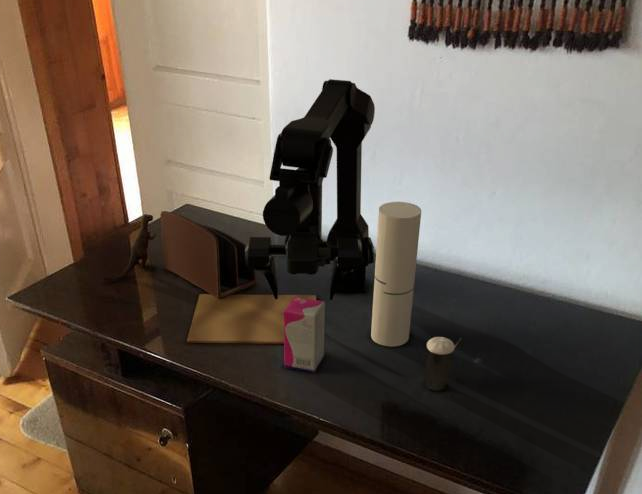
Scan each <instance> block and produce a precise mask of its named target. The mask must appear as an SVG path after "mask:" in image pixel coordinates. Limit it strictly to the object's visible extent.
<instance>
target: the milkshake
mask: <svg viewBox="0 0 642 494" xmlns="http://www.w3.org/2000/svg"><path fill="white" fill-rule="evenodd" d="M461 340H462V337H460V338H459V339H458V340H457V342H456V344H455V343H454V342H453V341H452V340H451V339H449V338H447V337H445V336H434V337H432V338H430V339H429V340H427V342H426V362H425V363H426V365H425V385H426V388H427V389H429V390H430V391H436V392H439V391H442V390H444V389H445V387H446V386H447V380H448V376H449V371H450V368H451V363H452V359H453V355H454V352H455V348H456V347H457V345H458V344H459V342H460V341H461Z"/></svg>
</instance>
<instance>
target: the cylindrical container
mask: <svg viewBox="0 0 642 494" xmlns="http://www.w3.org/2000/svg"><path fill="white" fill-rule="evenodd" d="M377 218H378V219H377V233H376V248H375V249H376V250H375V266H374V280H373V297H372V311H371V312H372V313H371V314H372V315H371V328H370V329H371V330H370V337H371V340H372V341H373V342H374V343H376V344H378V345H381V346H384V347H391V348H392V347H400V346H402V345H404V344H406V343H408V341H409V339H410V330H411V321H412V320H411V319H412V310H413V309H412V308H413V299H414V298H413V297H414V288H415V280H416V271H417V259H418V248H419V239H420V230H421V229H420V228H421V219H422V209H421V207H420V206H418V205H417V204H415V203H412V202H406V201H389V202H385V203H383V204H381V205H380V206H379V207H378V217H377Z"/></svg>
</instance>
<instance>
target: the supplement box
mask: <svg viewBox="0 0 642 494" xmlns="http://www.w3.org/2000/svg"><path fill="white" fill-rule="evenodd" d="M325 302H326V301H325V300H324V301H323V300H317V299H316V300H311V299H305V298H298V297H294V298H293V300H292V301H291V303H290V304H289V305H288V306H287V308H286V309H285V310H284V344H283V349H284V351H283V352H284V353H283V354H284V368H286V369H291V370H296V371H301V372H307V373H313V374H315V373H316V372H317V369H318V368H319V366H320V365H321V363H322V361H323V360H324V358H325V312H326V311H325V308H326V307H325Z"/></svg>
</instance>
